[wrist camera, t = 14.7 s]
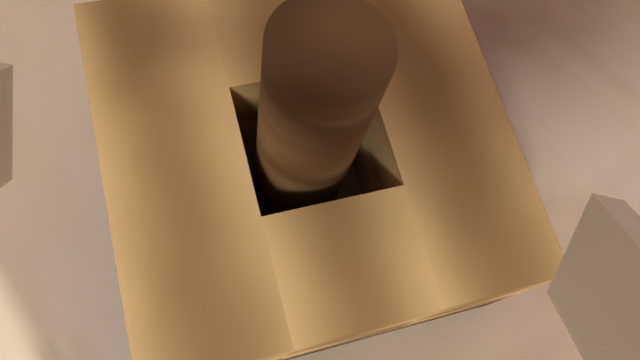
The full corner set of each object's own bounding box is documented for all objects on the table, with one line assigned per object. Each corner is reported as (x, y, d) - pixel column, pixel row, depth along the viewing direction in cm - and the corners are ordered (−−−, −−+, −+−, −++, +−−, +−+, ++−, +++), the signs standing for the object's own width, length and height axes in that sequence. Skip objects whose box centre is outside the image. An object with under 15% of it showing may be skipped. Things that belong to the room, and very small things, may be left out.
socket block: (397, 50, 34) (442, -47, 27) (487, 304, 30) (571, 273, 22) (113, 98, 31) (73, 4, 23) (165, 393, 26) (137, 391, 19)
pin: (324, 140, 29) (375, -20, 18) (346, 215, 28) (416, 92, 17) (245, 156, 29) (248, -2, 17) (264, 234, 27) (281, 118, 16)
